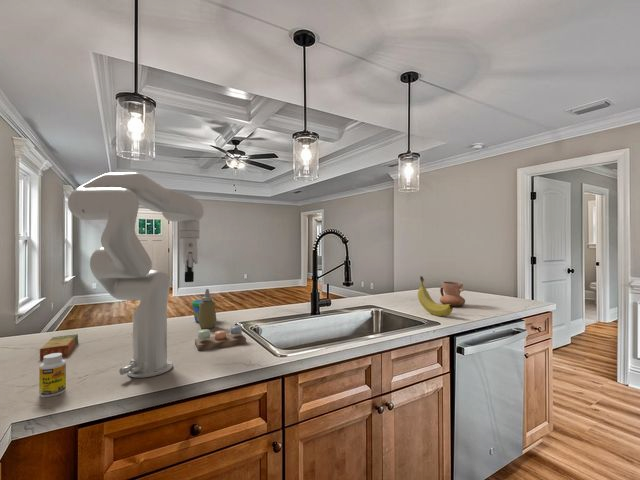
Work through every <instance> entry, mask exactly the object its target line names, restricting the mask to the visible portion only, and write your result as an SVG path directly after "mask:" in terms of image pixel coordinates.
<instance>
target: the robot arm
mask: <svg viewBox="0 0 640 480" xmlns="http://www.w3.org/2000/svg"><path fill="white" fill-rule="evenodd" d="M139 206H142V207H143V208H146V209H148V210H150V211H153V212H158V213H161V214H162V216H163V217H164V218H165V220H167V221H170V222H178V239H179V240H182V241H181V243H182V246H181V247H182V248H181V249H182V261H183V264H184V270H185V271H184V283H193V282H194V281H195V280H194V278H195V277H194V275H195V274H194V273H195V271H194V265H197V264H198V263H199V262H198V261H199V260H198V240H200V220H201V219H202V218H203V216H204V212H205V211H204V207H203V204H202V203H201V202H200V201H199V200H198V199H197V198H196V197H194V196H192V195H190V194H187V193H183V192H181V191H176V190H173V189H170V188H165V187H164V186H163V185H161V184H159V183H157V182H156V181H154V180H152V178H149V177H148V176H146V175H145V174H143V173H140V172H133V171H130V172H129V171H128V172H127V171H126V172H124V171H123V172H122V171H121V172H107V173H104V174H102V175H99V176H97V177H95V178H93V179H91V180H89V181H88V182H86V183H84V184H82V185H80V186H79V187H76V188H75V189H74V190H73V191H71V193H70V194H69V196H68V200H67V208H68V210H69V211H70V213H71V214H72V215H73V216H74V217H76V218H78V219H80V220H84V221H85V220H86V221H87V220H88V221H90V220H91V221H93V220H94V221H95V220H96V221H97V220H100V221H102V220H104V221H105V220H107V222H106V224H105V227H104V229H103V231H102V234H101V237H100V243H101V247H99V248H97V249H95V250H94V252H92V254H91V256H90V260H89V267H90V270H91V273H92V276H93V277H94V278H95V279H96V281H98V283H99V284H100V285H101V286H102V288H104V290H105V291H106V292H107V294H108V293H109V295H110V296H111V297H113V298H115V299H116V300H121V301H140V302H139V304H138V306H136V309H135V310H134V312H133V314H132V359H130V360H129V364H128V365H127V366H126V365H125V366H124V367H121V368H119V372H118V373H119V374H120V375H122V376H124V375H126V374H127V376H129V377H131V378H136V379H137V378H139V379H141V378H151V377H156V376H159V375H162V374H164V373H166V372H168V371H170V370H171V369H172V368H173V361H171V360H169V359H168V328H167V327H168V317H167V316H168V314H167V312H168V299H169V292H170V289H171V288H170V287H171V280H170V279H171V278H170V276H169V275H168V274H167V273H166V272H165V271H162V270H159V269H153V262H152V260H151V258H150V255H149V254H148V252H147V250H146V249H145V247H144V246H143V244H142V243H141V241H140V239H139V237H138V235H137V234H136V223H137V217H138V212H139V209H140V207H139Z"/></svg>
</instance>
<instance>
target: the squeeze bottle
mask: <svg viewBox="0 0 640 480" xmlns="http://www.w3.org/2000/svg"><path fill="white" fill-rule="evenodd" d="M201 299H202V302H201V303H200V308H199V319H198V321H199V322H198V324H199V326H200V329H201V330H204V329H208V330H210V329H212V328H213V329H214V327H215V324H216V322H217V313H216V305H215V303H216V302H215V301H212V300H213V296H211V293H210V290H209V289H208V288H206V289H205V291H204V296H202V297H201Z"/></svg>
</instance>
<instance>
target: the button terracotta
mask: <svg viewBox="0 0 640 480" xmlns="http://www.w3.org/2000/svg"><path fill="white" fill-rule="evenodd" d="M226 335H227V330H216V331H215V332H214V336H215V339H216V340H223V339H226Z"/></svg>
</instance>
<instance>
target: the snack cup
mask: <svg viewBox="0 0 640 480" xmlns="http://www.w3.org/2000/svg"><path fill="white" fill-rule="evenodd" d="M212 301H214V300H213V299H212ZM201 302H202V298H201V299H195V300H192V301H191V306H192V310H193V317H194V321H195V322H196V323H199V321H198V319H199V308H200V303H201ZM214 302H215V301H214Z"/></svg>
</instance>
